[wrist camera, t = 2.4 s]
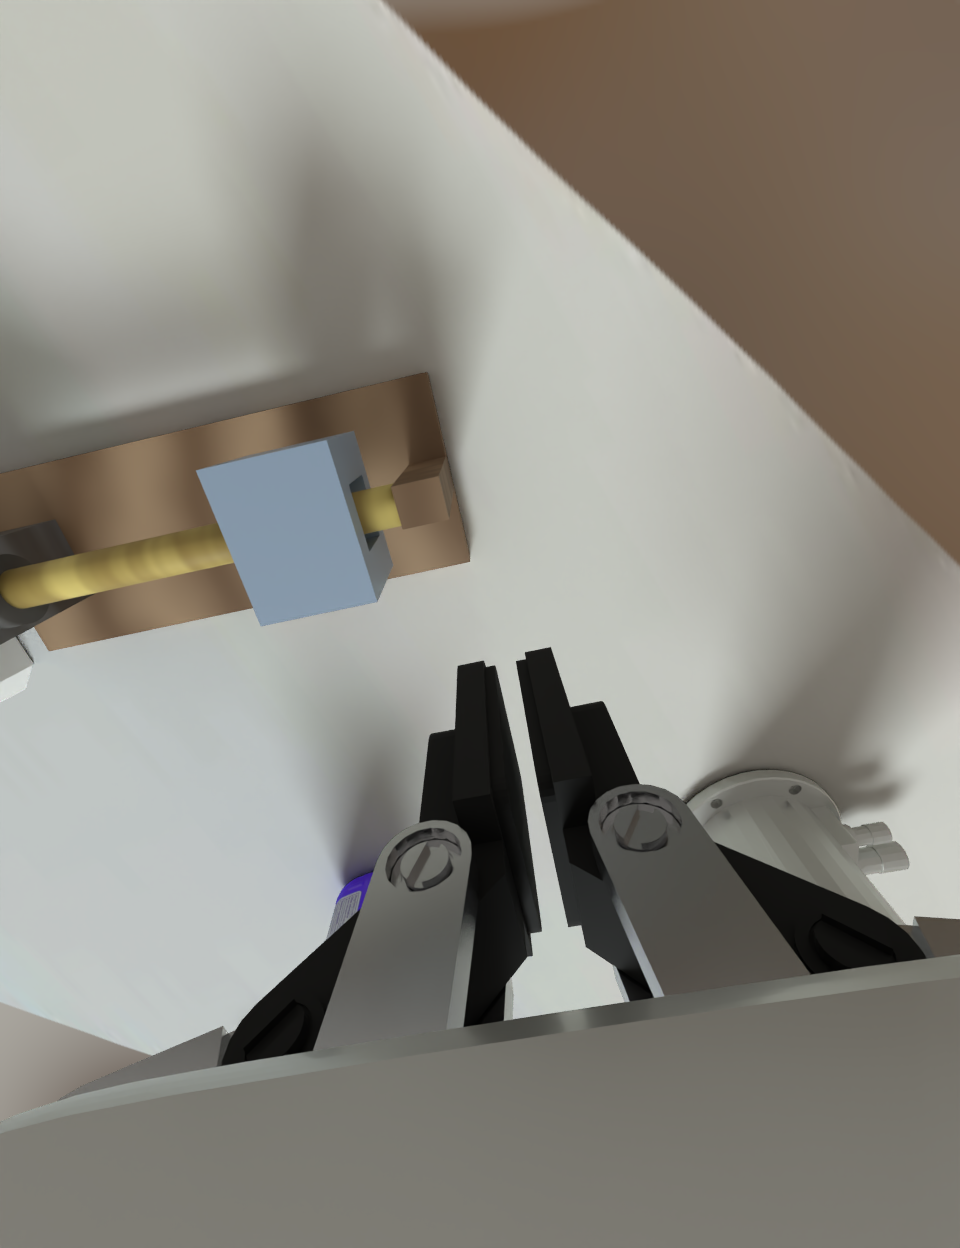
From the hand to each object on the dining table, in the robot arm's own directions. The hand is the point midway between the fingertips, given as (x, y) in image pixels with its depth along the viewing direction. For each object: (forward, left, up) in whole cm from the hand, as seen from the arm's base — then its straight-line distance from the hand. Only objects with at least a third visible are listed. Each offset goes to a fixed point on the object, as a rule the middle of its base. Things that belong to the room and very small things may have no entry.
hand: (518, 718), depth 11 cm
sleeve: (+7, -3, -16) cm, 18 cm away
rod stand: (+14, -3, -21) cm, 26 cm away
